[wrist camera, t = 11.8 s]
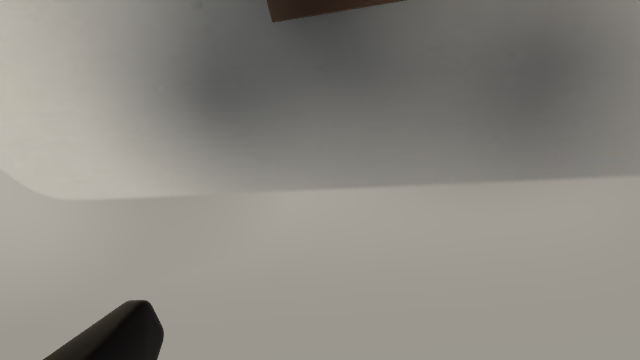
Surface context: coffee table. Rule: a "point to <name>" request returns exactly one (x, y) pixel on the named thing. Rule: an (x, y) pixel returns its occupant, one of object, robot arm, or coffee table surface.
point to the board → (315, 7)
